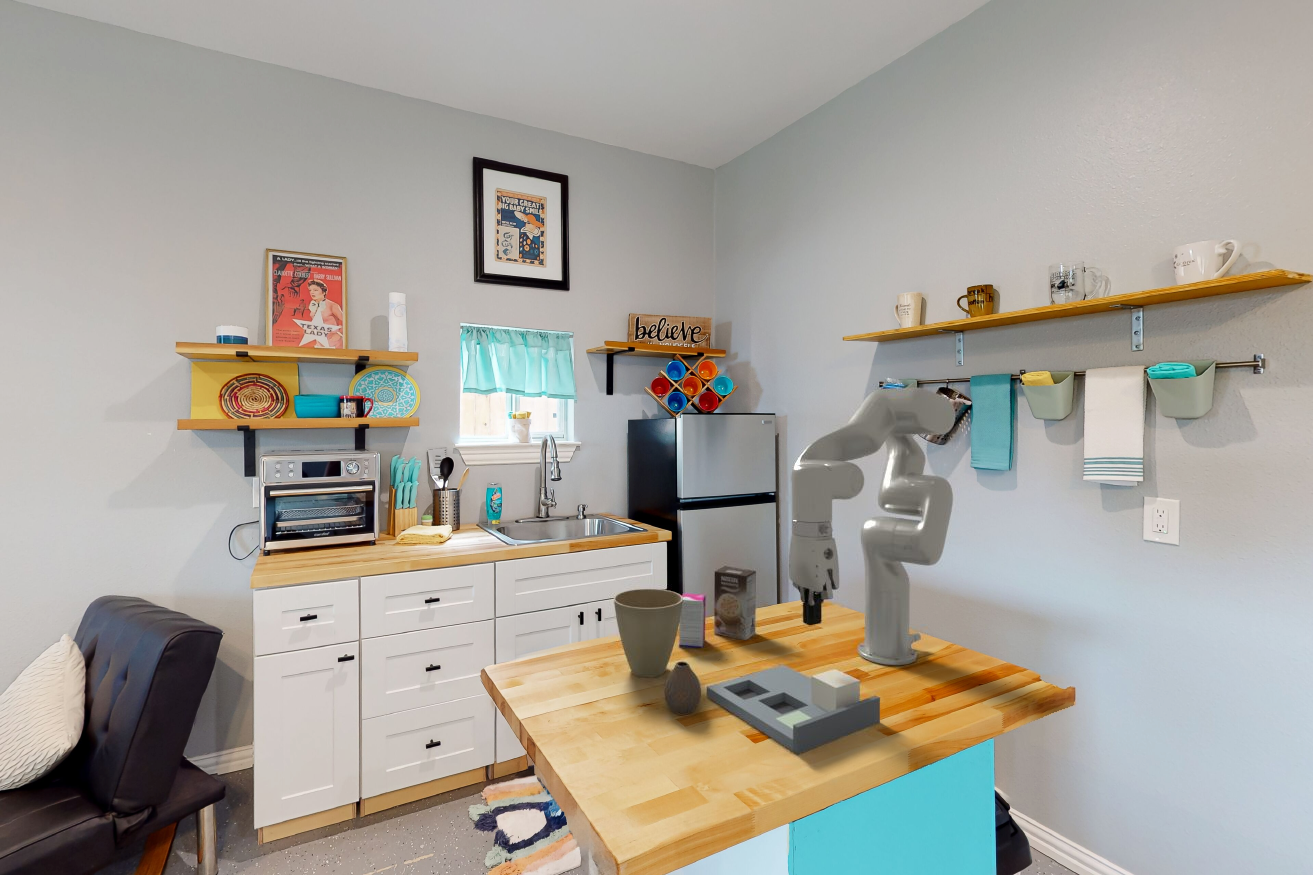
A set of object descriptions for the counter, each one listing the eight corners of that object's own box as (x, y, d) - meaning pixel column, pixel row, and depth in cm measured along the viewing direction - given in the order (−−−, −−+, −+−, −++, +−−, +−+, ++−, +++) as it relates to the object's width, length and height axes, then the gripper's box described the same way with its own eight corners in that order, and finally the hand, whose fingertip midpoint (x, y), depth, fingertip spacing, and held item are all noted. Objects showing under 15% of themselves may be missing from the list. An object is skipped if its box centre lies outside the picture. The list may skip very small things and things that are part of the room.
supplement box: (703, 648, 149) (702, 600, 149) (678, 647, 150) (678, 599, 150) (706, 640, 155) (705, 593, 154) (682, 638, 156) (681, 592, 156)
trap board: (782, 673, 134) (782, 652, 134) (879, 722, 113) (879, 697, 113) (706, 696, 124) (706, 673, 124) (797, 754, 103) (797, 727, 102)
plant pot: (663, 690, 127) (662, 612, 126) (601, 676, 134) (600, 602, 133) (694, 664, 140) (694, 593, 139) (636, 652, 147) (635, 584, 146)
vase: (675, 721, 114) (675, 674, 114) (657, 706, 120) (657, 660, 120) (708, 713, 117) (707, 666, 117) (689, 698, 123) (688, 654, 123)
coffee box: (712, 634, 159) (712, 570, 158) (724, 626, 164) (723, 565, 164) (746, 640, 154) (746, 575, 154) (757, 632, 160) (756, 569, 159)
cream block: (834, 694, 120) (834, 668, 119) (859, 707, 114) (859, 680, 114) (811, 702, 117) (811, 675, 116) (835, 715, 111) (835, 687, 111)
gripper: (854, 533, 116) (854, 632, 117) (803, 521, 129) (803, 609, 130) (821, 537, 113) (822, 638, 113) (772, 524, 126) (773, 614, 127)
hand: (812, 623), depth 122 cm, fingers closed
